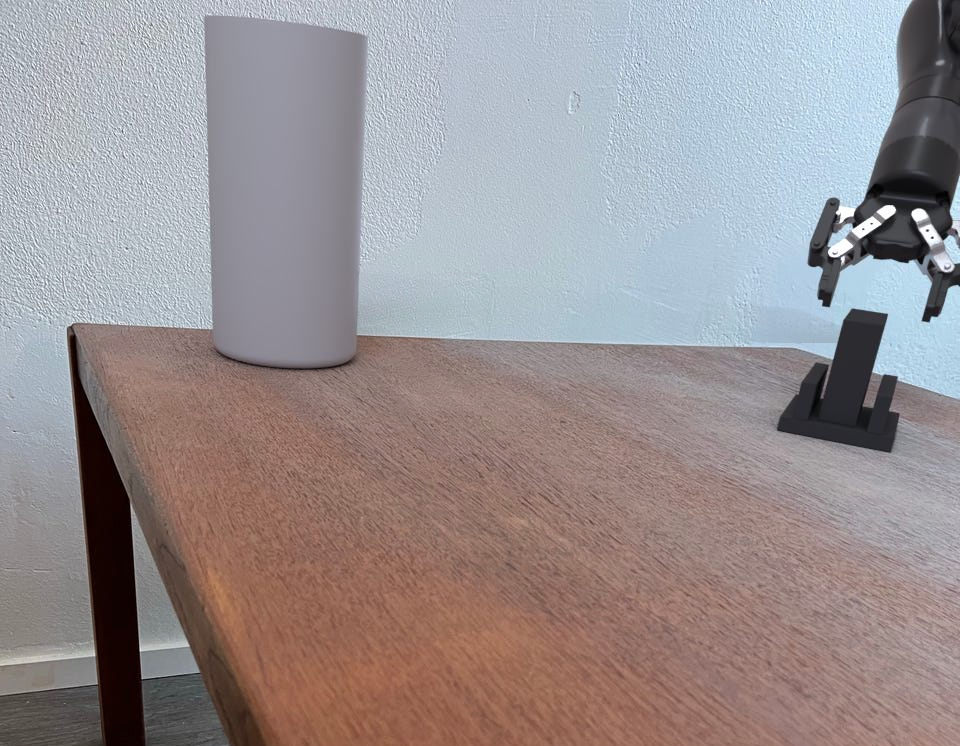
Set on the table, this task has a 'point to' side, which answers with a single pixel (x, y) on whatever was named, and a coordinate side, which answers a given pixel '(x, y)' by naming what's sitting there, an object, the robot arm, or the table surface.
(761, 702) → the table surface
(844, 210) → the robot arm
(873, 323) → the block
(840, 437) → the base pad
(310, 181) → the cylinder vase
